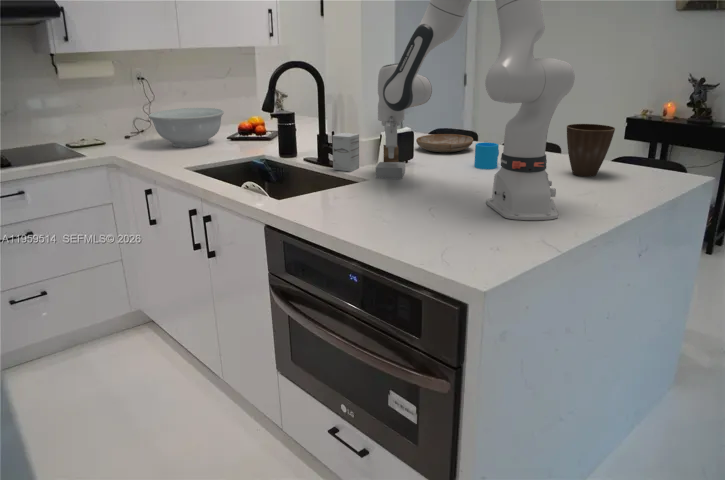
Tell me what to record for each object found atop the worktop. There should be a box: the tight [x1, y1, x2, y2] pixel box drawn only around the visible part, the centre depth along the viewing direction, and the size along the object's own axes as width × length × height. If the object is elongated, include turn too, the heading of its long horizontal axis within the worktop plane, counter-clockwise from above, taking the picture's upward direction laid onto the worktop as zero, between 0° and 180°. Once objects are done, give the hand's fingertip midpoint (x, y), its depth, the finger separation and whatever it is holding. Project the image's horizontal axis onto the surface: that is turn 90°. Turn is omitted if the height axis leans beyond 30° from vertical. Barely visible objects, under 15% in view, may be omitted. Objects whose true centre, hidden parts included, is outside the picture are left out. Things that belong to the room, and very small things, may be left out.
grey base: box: [375, 161, 406, 180], centre depth 189 cm, size 9×9×4 cm
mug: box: [473, 141, 500, 170], centre depth 199 cm, size 12×8×8 cm
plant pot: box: [566, 123, 616, 178], centre depth 184 cm, size 15×15×16 cm
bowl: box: [148, 107, 225, 149], centre depth 248 cm, size 32×32×15 cm
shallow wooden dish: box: [415, 133, 474, 153], centre depth 230 cm, size 23×24×5 cm
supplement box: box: [332, 132, 360, 173], centre depth 197 cm, size 7×7×13 cm
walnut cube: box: [383, 144, 399, 162], centre depth 187 cm, size 5×5×5 cm
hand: (391, 156), depth 187 cm, fingers closed on walnut cube, 5 cm apart
